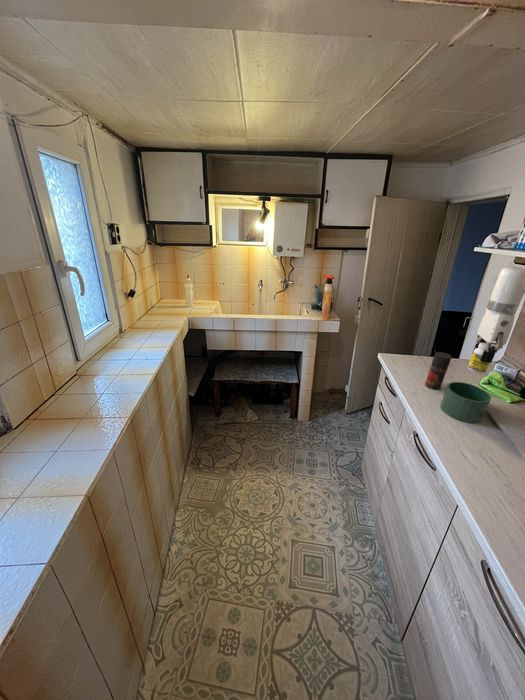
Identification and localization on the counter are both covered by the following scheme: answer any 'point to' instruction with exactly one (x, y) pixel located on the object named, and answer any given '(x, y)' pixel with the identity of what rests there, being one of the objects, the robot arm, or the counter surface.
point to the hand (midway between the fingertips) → (481, 357)
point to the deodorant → (437, 370)
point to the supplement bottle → (478, 360)
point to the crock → (465, 402)
